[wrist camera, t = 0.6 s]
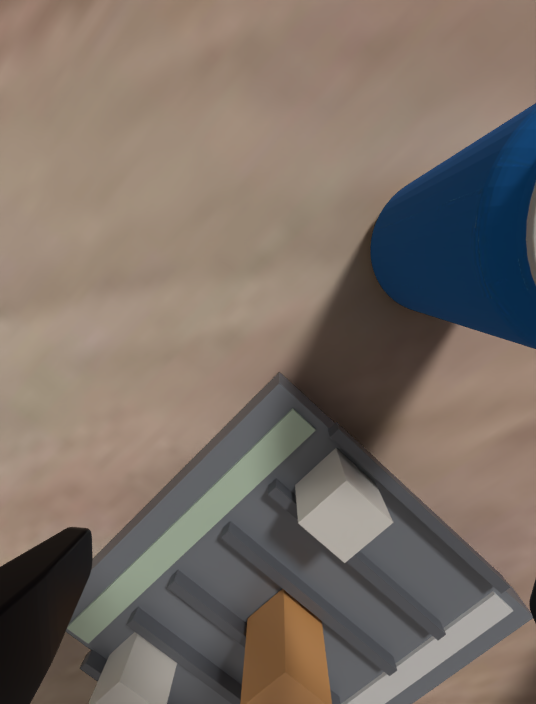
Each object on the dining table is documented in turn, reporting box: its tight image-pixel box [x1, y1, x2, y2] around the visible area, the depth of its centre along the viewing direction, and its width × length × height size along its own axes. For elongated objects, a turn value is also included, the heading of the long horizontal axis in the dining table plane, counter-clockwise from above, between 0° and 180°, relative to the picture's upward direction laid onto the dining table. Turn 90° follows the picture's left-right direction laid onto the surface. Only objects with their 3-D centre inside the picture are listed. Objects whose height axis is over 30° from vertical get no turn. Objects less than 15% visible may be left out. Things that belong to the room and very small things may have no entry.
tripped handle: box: [240, 589, 332, 704], centre depth 19 cm, size 3×3×4 cm
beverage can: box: [371, 103, 536, 349], centre depth 13 cm, size 6×6×12 cm
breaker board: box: [66, 372, 533, 704], centre depth 21 cm, size 20×21×5 cm
